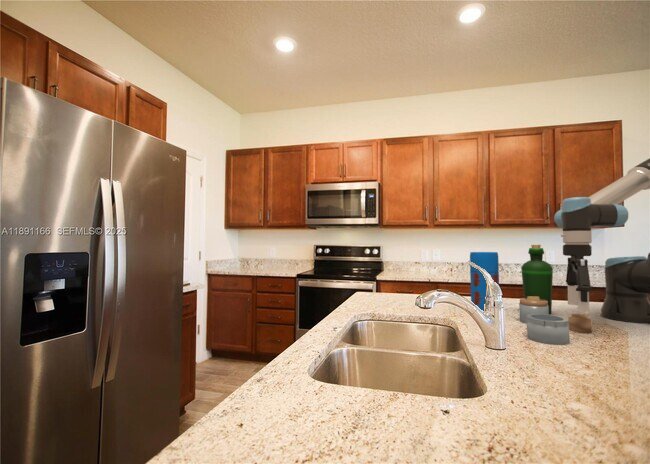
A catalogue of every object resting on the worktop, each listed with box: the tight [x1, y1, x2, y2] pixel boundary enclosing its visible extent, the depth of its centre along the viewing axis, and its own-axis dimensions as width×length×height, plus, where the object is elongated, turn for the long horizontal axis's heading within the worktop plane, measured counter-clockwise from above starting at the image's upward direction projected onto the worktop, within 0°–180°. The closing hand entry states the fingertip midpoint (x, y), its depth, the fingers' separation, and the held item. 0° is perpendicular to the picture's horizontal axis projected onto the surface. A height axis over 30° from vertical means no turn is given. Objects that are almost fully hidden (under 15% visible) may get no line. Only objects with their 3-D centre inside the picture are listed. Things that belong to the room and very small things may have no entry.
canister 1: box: [518, 296, 549, 324], centre depth 117 cm, size 9×9×9 cm
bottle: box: [520, 244, 554, 315], centre depth 129 cm, size 11×11×28 cm
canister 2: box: [526, 314, 571, 346], centre depth 97 cm, size 11×11×6 cm
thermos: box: [469, 251, 500, 311], centre depth 135 cm, size 11×11×25 cm
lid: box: [567, 313, 593, 334], centre depth 106 cm, size 6×6×5 cm
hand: (577, 308), depth 106 cm, fingers open, 13 cm apart
